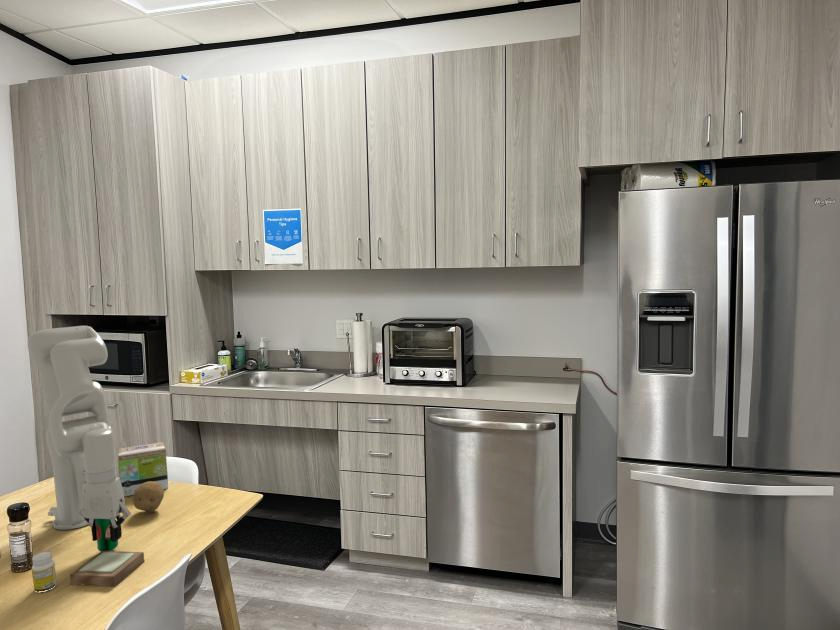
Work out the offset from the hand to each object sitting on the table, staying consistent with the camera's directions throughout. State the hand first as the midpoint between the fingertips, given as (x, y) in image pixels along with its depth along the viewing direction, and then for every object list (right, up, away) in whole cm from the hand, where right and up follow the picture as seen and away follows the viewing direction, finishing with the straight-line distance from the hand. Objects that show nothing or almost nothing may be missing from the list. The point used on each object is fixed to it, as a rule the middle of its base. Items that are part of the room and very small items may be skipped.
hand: (107, 538), depth 164 cm
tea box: (-11, 0, +46) cm, 47 cm away
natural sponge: (0, -2, +25) cm, 25 cm away
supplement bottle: (-6, -6, -17) cm, 19 cm away
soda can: (0, -3, 0) cm, 3 cm away
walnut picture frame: (+6, -5, -11) cm, 13 cm away
